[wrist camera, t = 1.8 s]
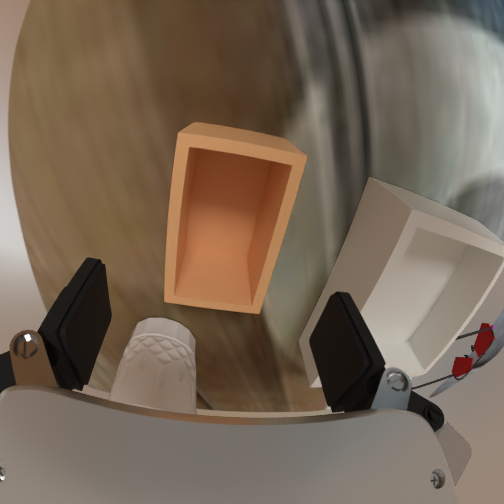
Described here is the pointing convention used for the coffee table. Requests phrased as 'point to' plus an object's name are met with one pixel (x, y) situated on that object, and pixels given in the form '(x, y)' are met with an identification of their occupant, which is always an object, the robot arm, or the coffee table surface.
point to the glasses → (480, 346)
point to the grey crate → (410, 276)
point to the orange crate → (228, 215)
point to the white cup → (158, 368)
